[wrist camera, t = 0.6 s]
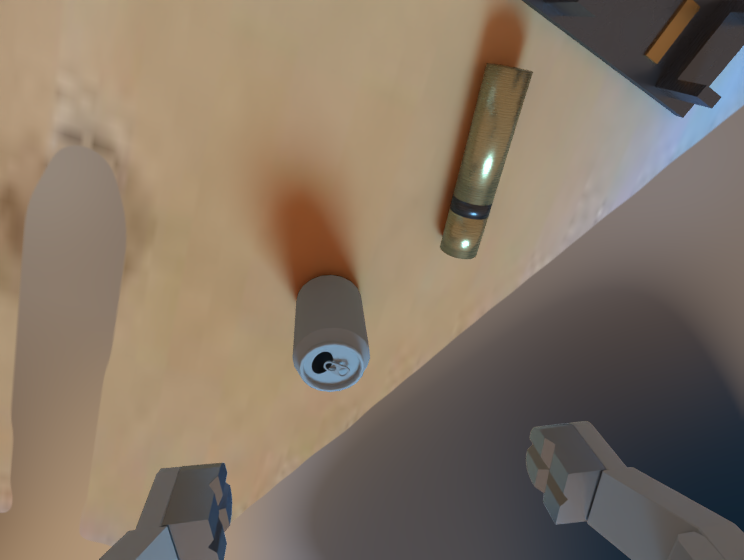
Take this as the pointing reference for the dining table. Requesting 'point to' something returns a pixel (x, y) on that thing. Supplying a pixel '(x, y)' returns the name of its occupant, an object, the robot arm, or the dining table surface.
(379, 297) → the dining table surface
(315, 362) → the can
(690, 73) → the stand
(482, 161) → the tube
